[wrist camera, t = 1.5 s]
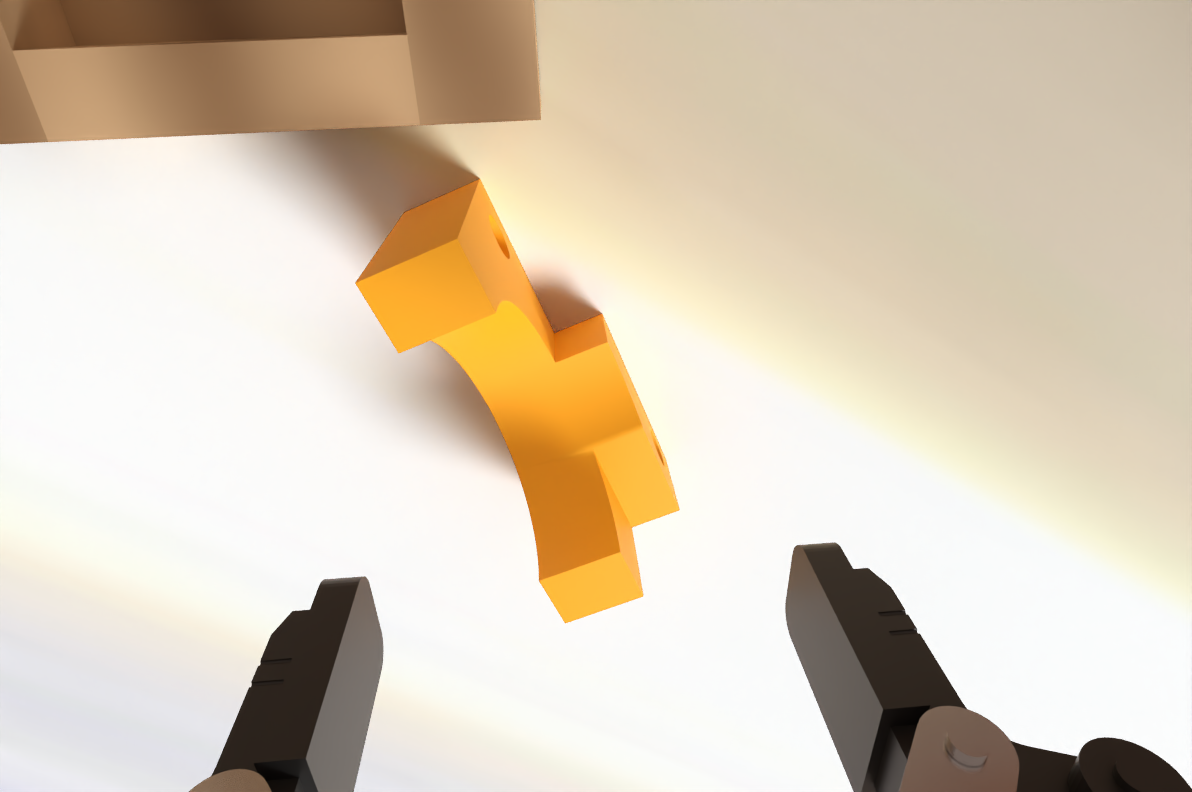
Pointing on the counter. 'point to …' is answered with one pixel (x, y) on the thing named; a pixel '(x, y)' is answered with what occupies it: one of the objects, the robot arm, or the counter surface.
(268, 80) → the wooden tray
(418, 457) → the counter surface
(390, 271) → the pipe clamp
